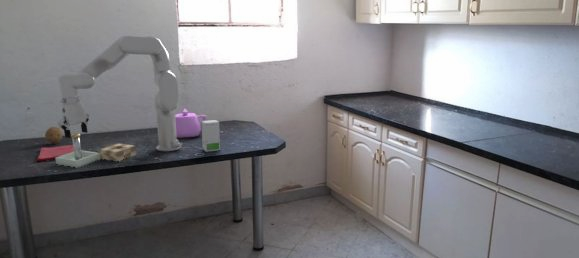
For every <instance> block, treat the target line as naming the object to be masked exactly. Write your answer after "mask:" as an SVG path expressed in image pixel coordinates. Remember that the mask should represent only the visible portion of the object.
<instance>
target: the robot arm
mask: <svg viewBox="0 0 579 258" xmlns="http://www.w3.org/2000/svg"><path fill="white" fill-rule="evenodd" d="M129 55H149V56H150V58H151V60H152V66H153V77H154V78H153V79H154V80H153V81H154V84H155V85H156V86H157V87H158V88H159V91H158V92H157V93H156V94H155V96H154V99H153V101H154V106H155V107H154V108H155V112H156V123H157V124H156V125H157V135H158V145H157V146H156V147H155V148H156V150H157V151H159V152H172V151H177V150H179V149H181V148H182V146H183V142H180V141H179V139H178V137H177V134H176V121H175V115H176V111H175V110H176V109H177V108H178V106H179V104H180V103H179V101H180V99H179V98H180V96H179V84H178V79H177V77H176V75H175V74H174V73H173V72H172V70H171V61H170V60H171V59H170V56H169V52H168V51H167V49H166V48H165V46H164V45H163V43H162V42H161V40H160V39H159V38H158V37H154V36H134V35H133V36H132V35H122V36H120V37H119V38H117V40H115V41H114V42H113V43H112V44H111V45H109V46H108V48H106V49H105V50H104V51H102V53H101V54H98V56H97V57H95V58H94V59H93V60H92V61H90V62H89V63H88V64H87V65H86V66H84V67H83V68H81V70H80V71H79V72H78V73H77V74H72V73H68V74H67V73H65V74H60V75H59V76H58V85H59V88H60V89H59V90H60V97H61V100H60V103H62V104H61V119H60V120H58V121H57V124H58V126H59V128H60V129H61V130H63V134H64V137H65V138H67V139H72V138H71V134H72V133H71V129H70V128H71V126H76V125H78V124H80V128H81V132H82V133H86V134H87V133H88V132H89V131H88V126H87V125H88V122H89V120H90V119H89V118H90V114H89V113H86V111H85V107H84V104H83V102H82V101H80V100H81V99H80V94H79V89H80V90H87V89H92V88H93V87H95V86H94V85H95V84H96V79H97V78H98V77H100V76H101V75H102V74H103V73H105V72H107V71H109V70H111V69H114V68H115V67H116V66H117V65H119V64H120V63H121V62H122V61H123V60H124V59H125V58H126V57H127V56H129Z"/></svg>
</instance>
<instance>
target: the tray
mask: <svg viewBox="0 0 579 258" xmlns="http://www.w3.org/2000/svg"><path fill="white" fill-rule="evenodd" d="M81 153H82V159H79V160H75V155H74V152H72V153H69V154H66V155H62V156H59V157H56V158H55V159H56V160H55V164H58V165H57V166H61V165H64V166H63V167H67V166H70V167H69V168H73V167H75V168H74V169H79V168H81V166H82V167H85V166H87V165H90V164H93V163H96V162H98V161H100V159H101V158H100V152H94V151H89V150H83V149H81ZM97 160H98V161H97ZM95 161H96V162H95ZM92 162H93V163H92ZM89 163H90V164H89ZM84 165H85V166H84ZM78 167H79V168H78Z"/></svg>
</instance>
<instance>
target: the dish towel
mask: <svg viewBox="0 0 579 258" xmlns="http://www.w3.org/2000/svg"><path fill="white" fill-rule="evenodd" d="M72 152H74V148H73V144H70V145H69V144H67V145H59V146H53V147H40V151H39V153H38V157H37V159H36V162H37V161H44V162H48V161H47V160H52V161H56V159H55V158H56V157H59V156H62V155H66V154H69V153H72ZM39 154H40V155H39Z"/></svg>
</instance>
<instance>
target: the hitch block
mask: <svg viewBox="0 0 579 258" xmlns="http://www.w3.org/2000/svg"><path fill="white" fill-rule="evenodd" d="M136 150H137V149H136V145H133V144H126V143H124V144H123V143H115V144H111V145H108V146H106V147H103V148H99V153H100V159H101V160H104V159H106V161H111V160H113V162H117V161H119V162H122V161H124V160H127V159H130V158H132V157H134V156H137V151H136ZM129 157H130V158H129ZM126 158H127V159H126ZM123 159H124V160H123ZM121 160H122V161H121Z"/></svg>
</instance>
